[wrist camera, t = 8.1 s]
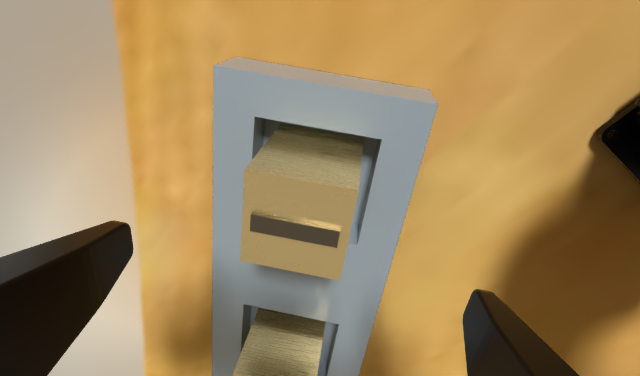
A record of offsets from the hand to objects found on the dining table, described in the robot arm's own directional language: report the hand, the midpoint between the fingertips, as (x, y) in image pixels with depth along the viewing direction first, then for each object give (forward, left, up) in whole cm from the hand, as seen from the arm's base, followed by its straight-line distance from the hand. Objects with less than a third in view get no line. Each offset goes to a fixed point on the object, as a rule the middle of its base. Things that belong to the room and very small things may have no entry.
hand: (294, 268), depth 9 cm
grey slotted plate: (-4, +7, -12) cm, 14 cm away
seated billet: (-7, +12, -11) cm, 18 cm away
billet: (0, +2, -11) cm, 11 cm away
